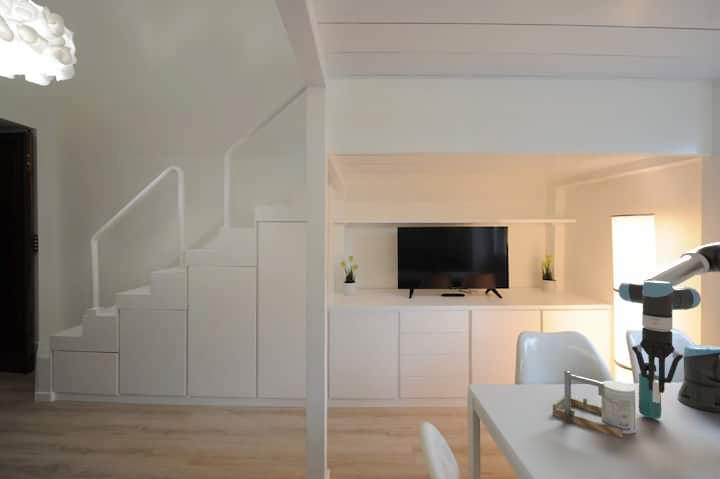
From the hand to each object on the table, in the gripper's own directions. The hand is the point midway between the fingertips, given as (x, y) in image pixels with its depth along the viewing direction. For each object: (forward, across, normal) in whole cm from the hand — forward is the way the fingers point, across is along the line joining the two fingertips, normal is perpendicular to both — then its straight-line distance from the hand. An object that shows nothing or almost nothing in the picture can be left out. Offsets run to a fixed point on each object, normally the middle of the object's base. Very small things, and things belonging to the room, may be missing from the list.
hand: (656, 401), depth 114 cm
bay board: (+13, -18, 0) cm, 22 cm away
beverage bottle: (+13, -4, +17) cm, 22 cm away
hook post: (+13, -18, -8) cm, 24 cm away
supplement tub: (+13, -10, 0) cm, 17 cm away
